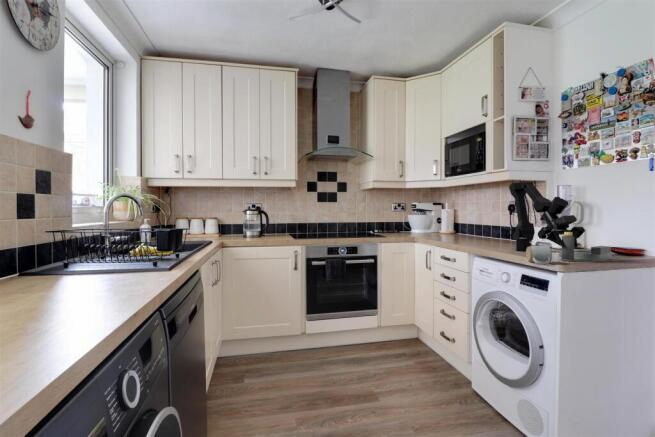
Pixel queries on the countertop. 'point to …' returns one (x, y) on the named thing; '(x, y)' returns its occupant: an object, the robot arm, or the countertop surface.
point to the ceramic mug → (539, 254)
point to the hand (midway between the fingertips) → (570, 246)
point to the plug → (568, 247)
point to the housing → (592, 253)
